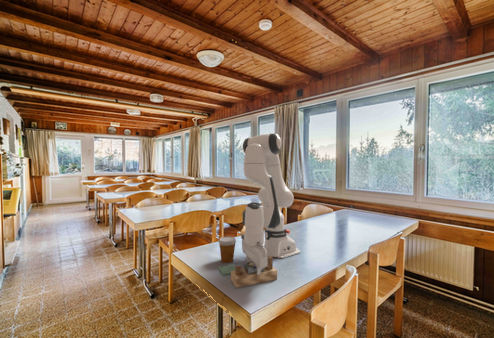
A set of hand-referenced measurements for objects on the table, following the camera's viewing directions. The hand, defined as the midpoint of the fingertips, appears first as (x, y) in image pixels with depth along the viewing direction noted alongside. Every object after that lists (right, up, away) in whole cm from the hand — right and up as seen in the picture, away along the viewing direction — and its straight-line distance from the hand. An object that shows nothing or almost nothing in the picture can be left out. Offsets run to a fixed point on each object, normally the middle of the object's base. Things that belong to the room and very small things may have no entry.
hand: (253, 269), depth 105 cm
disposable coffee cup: (-14, -5, +20) cm, 25 cm away
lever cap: (0, -1, 0) cm, 1 cm away
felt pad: (-12, -4, +9) cm, 16 cm away
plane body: (0, -5, 0) cm, 5 cm away
